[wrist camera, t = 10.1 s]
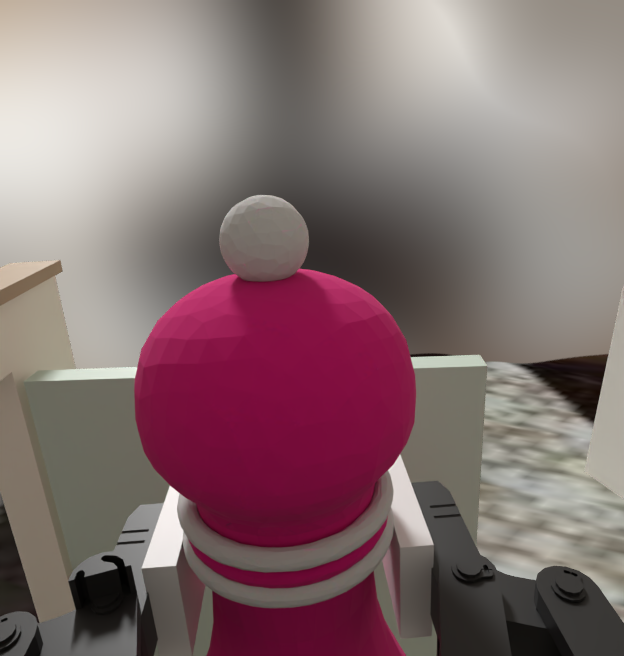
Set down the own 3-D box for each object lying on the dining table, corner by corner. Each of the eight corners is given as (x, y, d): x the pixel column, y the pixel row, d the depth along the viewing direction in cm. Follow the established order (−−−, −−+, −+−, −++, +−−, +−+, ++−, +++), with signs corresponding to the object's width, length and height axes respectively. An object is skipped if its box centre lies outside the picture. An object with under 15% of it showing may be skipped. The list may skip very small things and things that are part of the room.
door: (466, 703, 28) (487, 365, 22) (107, 703, 29) (23, 381, 23) (456, 659, 31) (471, 343, 24) (125, 660, 32) (53, 358, 25)
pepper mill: (293, 684, 21) (245, 181, 15) (466, 797, 17) (505, 177, 11) (152, 880, 16) (-24, 215, 9) (357, 1111, 12) (302, 234, 5)
